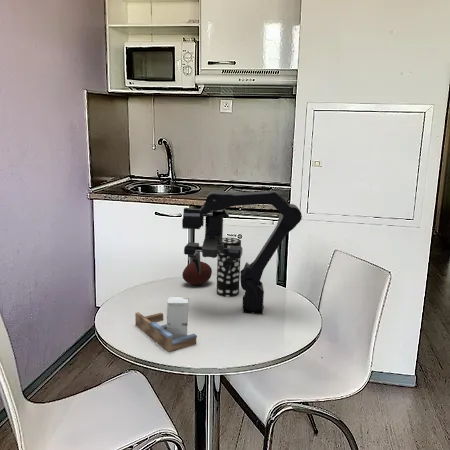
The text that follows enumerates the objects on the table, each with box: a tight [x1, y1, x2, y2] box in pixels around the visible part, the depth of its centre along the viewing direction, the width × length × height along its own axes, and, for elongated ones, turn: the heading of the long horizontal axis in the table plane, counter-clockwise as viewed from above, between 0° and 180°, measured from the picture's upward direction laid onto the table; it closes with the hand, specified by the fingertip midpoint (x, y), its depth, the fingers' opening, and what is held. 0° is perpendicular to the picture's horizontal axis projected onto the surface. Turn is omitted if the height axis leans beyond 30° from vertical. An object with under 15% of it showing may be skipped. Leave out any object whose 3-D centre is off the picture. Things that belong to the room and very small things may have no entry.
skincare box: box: [166, 296, 189, 340], centre depth 142 cm, size 6×4×12 cm
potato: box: [181, 260, 213, 286], centre depth 188 cm, size 9×12×9 cm
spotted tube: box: [216, 237, 242, 298], centre depth 179 cm, size 8×8×20 cm
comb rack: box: [135, 311, 198, 353], centre depth 146 cm, size 21×9×5 cm, turn 36°
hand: (212, 275), depth 164 cm, fingers open, 9 cm apart
